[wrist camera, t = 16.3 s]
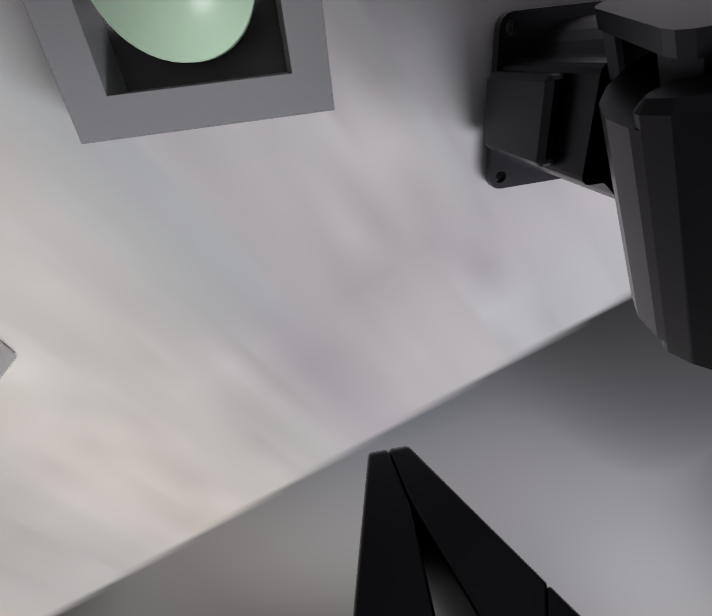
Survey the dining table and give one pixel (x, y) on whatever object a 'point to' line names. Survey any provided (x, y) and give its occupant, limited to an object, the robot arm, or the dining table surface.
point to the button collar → (179, 102)
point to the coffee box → (5, 358)
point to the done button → (179, 26)
